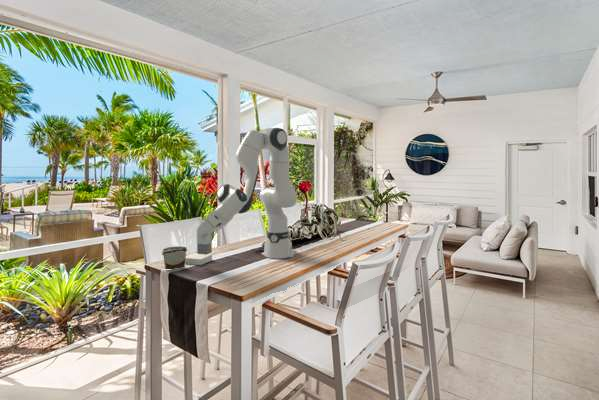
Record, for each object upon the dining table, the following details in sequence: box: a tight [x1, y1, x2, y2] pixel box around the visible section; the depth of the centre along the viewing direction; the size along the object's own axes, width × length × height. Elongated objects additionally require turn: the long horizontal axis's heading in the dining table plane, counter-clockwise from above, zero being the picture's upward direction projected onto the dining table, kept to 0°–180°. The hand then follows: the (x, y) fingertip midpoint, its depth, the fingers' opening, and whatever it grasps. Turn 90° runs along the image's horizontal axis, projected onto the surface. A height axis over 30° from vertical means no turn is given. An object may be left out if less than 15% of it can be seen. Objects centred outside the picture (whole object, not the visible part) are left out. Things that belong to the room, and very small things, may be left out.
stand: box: [185, 252, 213, 266], centre depth 184 cm, size 11×11×3 cm
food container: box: [161, 246, 188, 270], centre depth 172 cm, size 12×6×10 cm, turn 135°
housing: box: [196, 231, 213, 255], centre depth 171 cm, size 5×5×11 cm
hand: (203, 236), depth 171 cm, fingers closed on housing, 5 cm apart
